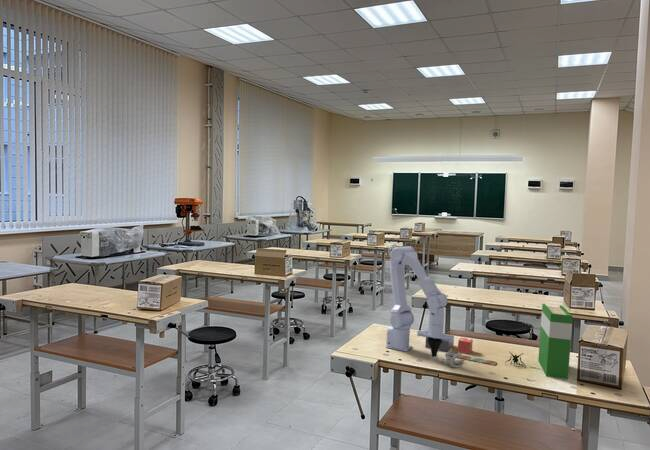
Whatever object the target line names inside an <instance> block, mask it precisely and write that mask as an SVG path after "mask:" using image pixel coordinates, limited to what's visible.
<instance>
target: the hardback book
mask: <svg viewBox="0 0 650 450" xmlns="http://www.w3.org/2000/svg"><path fill="white" fill-rule="evenodd" d="M572 330H573V315H572V314H571V313H570V312H569V311H568V310H567V309H566V308H565V307H564V306H563V305H559V306H551V305H550V306H549V305H546V304H545V303H542V304H541V319H540V334H539V347H538V358H537V359H538V361H537V362H538V363H539V365H540V367H541V369H542V371H543V373H544V375H545V377H547V378H548V377H549V378H555V379H563V380H568V379H569V369H570V357H571V345H572V332H573V331H572Z"/></svg>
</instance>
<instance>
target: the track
mask: <svg viewBox="0 0 650 450" xmlns="http://www.w3.org/2000/svg"><path fill="white" fill-rule="evenodd" d="M448 352H449V351H448ZM448 352H447V351H446V353H445V357H446V354H447V353H448ZM455 354H456V355H458V354H459V353H454V352H450V354H449V356H448V357H451V358H452V357H453V356H454V355H455ZM456 359H458V360H462V359H465V360H464V361H470V362H474V363H479V364H485V365H489V366H496V365H497V362H498V361H495V360H490V359H484V358H481V357H479V358H478V357H474V356H469V355H465V354H464V355H463V354H461V356H459V357H457V358H456Z"/></svg>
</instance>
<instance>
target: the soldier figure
mask: <svg viewBox="0 0 650 450" xmlns="http://www.w3.org/2000/svg"><path fill="white" fill-rule="evenodd" d="M453 350H454V349H452V348H451V349H450V350H449V351H448V353H447V352H446V353H447V354H446V353H445V354H446V356H445V358H443V359H442V361H443V362H444V365H445V366H446V365H447V364H448V365H449V366H450V367H452V368H455V369H456V368H463V365H461V363H462V362H464V361H466V360H465V359H458V358H457V357H459V356H461V355H462V352H459V353H454V354H455V355H454V356H453V357H449V354H450V353H453ZM456 354H458V355H456ZM456 359H457V360H456ZM458 364H460V365H458Z"/></svg>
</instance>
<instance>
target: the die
mask: <svg viewBox="0 0 650 450" xmlns="http://www.w3.org/2000/svg"><path fill="white" fill-rule="evenodd" d="M473 341H474V340H473V339H471V338H467V337H466V338H465V337H460V338H459V339H458V342H457V343H458V344H457V352H458V353H461V354H462V353H464V354H468V355H469V354H471V353H472V351H473Z"/></svg>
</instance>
